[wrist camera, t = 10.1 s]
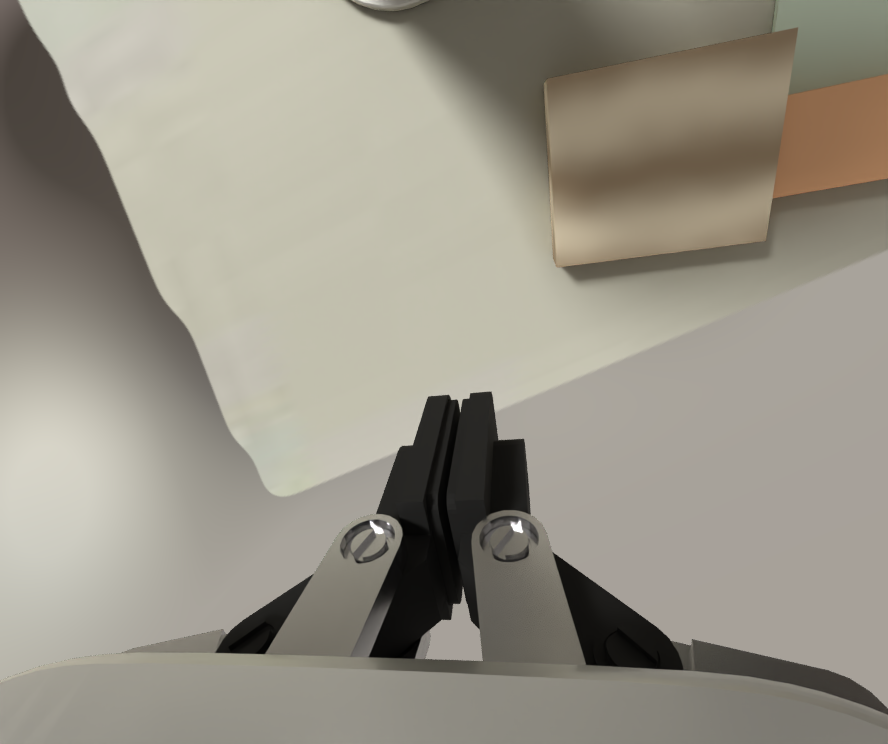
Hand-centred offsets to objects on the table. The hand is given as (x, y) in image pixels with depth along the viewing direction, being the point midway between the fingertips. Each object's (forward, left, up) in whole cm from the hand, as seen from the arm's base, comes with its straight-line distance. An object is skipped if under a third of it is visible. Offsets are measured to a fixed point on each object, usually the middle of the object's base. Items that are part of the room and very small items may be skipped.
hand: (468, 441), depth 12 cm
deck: (-4, +12, -27) cm, 30 cm away
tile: (-4, +23, -27) cm, 36 cm away
